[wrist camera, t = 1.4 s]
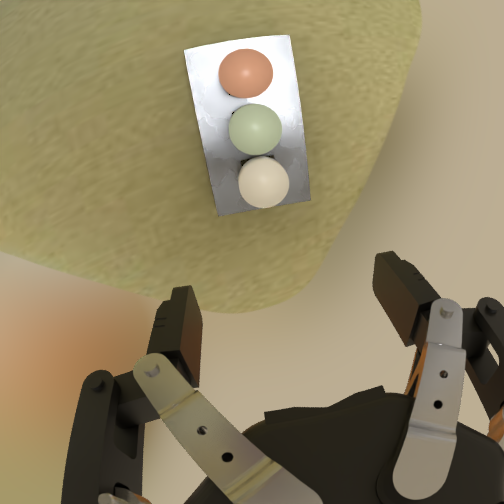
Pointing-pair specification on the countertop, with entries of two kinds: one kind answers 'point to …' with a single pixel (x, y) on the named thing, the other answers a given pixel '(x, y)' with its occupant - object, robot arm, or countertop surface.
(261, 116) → the sage button
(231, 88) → the terracotta button
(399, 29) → the countertop surface
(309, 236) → the countertop surface
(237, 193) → the panel
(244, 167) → the ivory button
